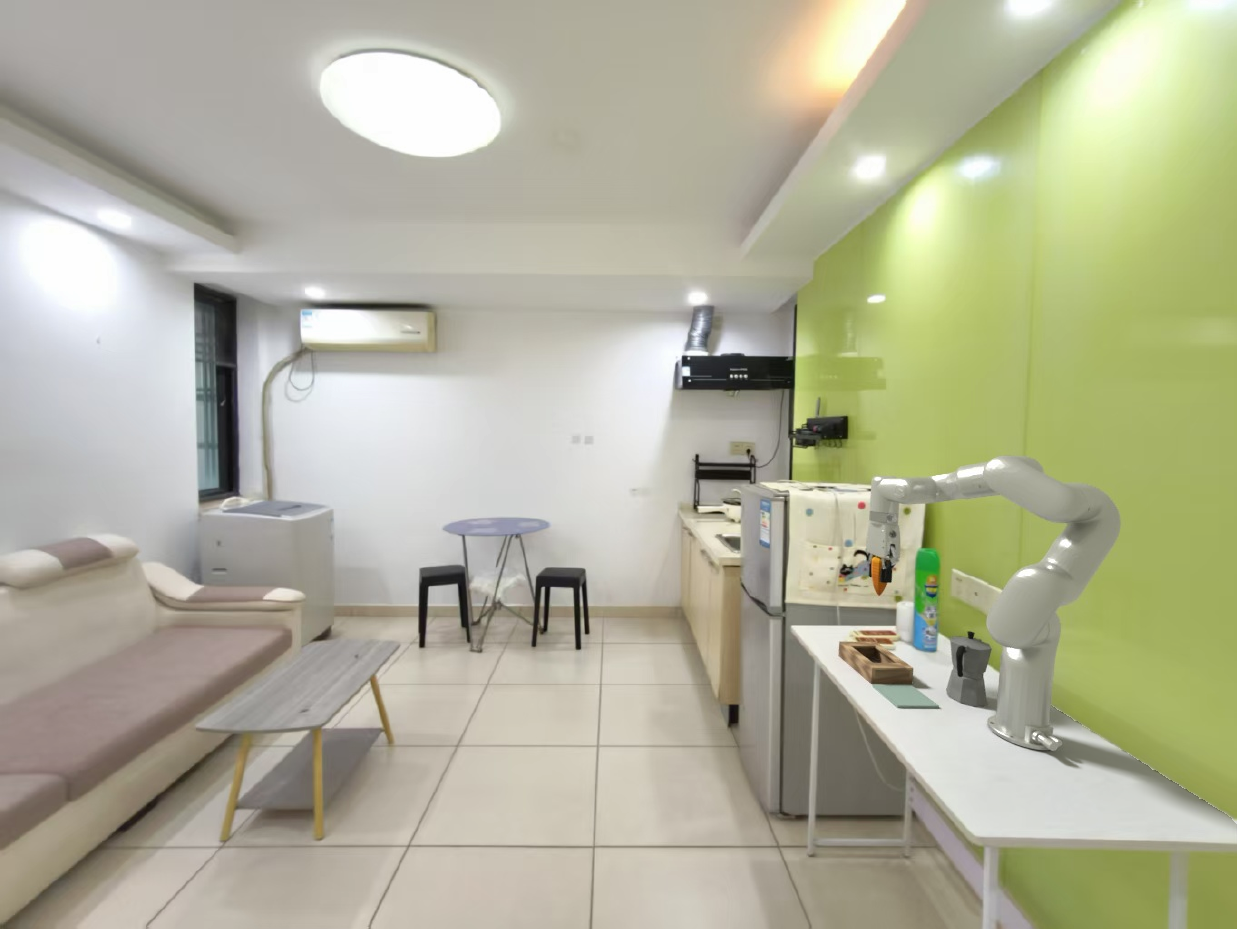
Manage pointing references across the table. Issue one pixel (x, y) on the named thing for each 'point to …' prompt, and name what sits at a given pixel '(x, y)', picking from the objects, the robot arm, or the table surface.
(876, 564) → the carrot
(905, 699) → the pad
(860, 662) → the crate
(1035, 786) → the table surface
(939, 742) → the table surface
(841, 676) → the table surface
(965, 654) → the coffeepot
